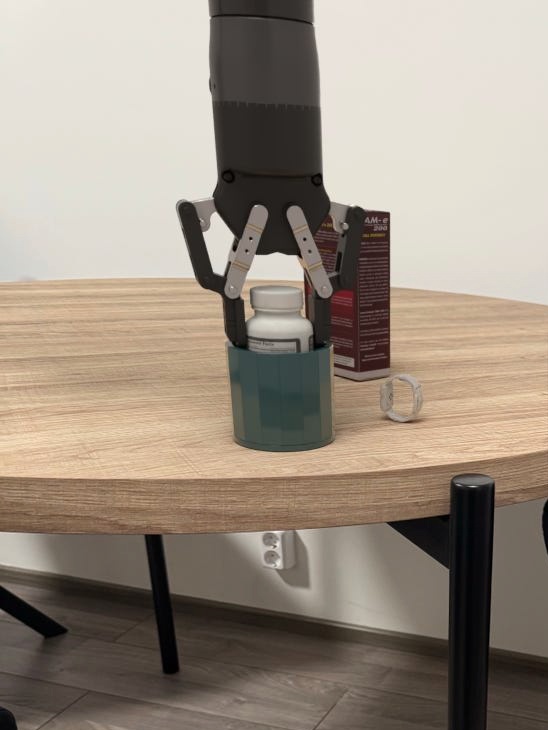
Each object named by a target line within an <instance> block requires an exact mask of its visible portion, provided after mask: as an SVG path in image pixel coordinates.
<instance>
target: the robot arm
mask: <svg viewBox="0 0 548 730" xmlns="http://www.w3.org/2000/svg"><path fill="white" fill-rule="evenodd" d="M207 2H208V3H207V4H208V15H209V18H210V19H209V42H208V67H209V78H208V88H209V92H210V95H211V107H212V119H213V121H212V122H213V134H214V147H215V158H216V159H215V160H216V172H217V173H216V174H217V179H216V180H217V181H216V185H215V187H214V190H213V193H212V196H210V197H205V198H199V199H195V200H188V199H180V200H177V202H176V204H175V211H176V215H177V218H178V221H179V226H180V229H181V232H182V236H183V239H184V243H185V246H186V247H185V248H186V250H187V254H188V257H189V260H190V263H191V267H192V271H193V274H194V277H195V280H196V282H197V283H198V284H199V286H200V288H202V289H204V290H208V291H211V292H214V293H217V294H219V295H220V297H221V301H222V315H223V327H224V333H225V336H226V338H227V340H229V341H230V342H234V344H235V347H238V348H241V349H247V338H246V323H245V322H246V310H245V300H244V298H243V297H242V296H241V294H242V292H243V291H242V290H243V287H244V284H245V282H246V279H247V276H248V272H249V271H250V269H251V267H252V264H253V262H254V258H255V256H269V255H272V254H277V253H278V254H281V255H285V256H296V259H297V261H298V263H299V265H300V267H301V268H302V270H303V274H304V273H305V275H306V277H307V280H308V282H309V284H310V287H311V294H312V295H308V302H309V321H310V322H311V324H312V326H313V332H314V348H324V340H330V337H331V334H332V328H331V298H332V296H333V295H334V294H335V293H337V292H339V291H342V290H344V289H347V290H348V289H351V288H353V286H354V284H355V279H356V274H357V268H358V262H359V256H360V250H361V244H362V238H363V232H364V226H365V220H366V212H365V210H364V209H365V208H363V207H361V206H359V205H357V204H352V203H351V204H349V203H348V204H345V203H342V202H341V203H340V202H336V201H334V200H333V201H332V200H331V199H330V198H331V197H330V196H329V194H328V192H327V190H326V187H325V184H324V162H323V161H324V160H323V159H324V158H323V128H322V125H323V124H322V94H321V93H322V92H321V66H320V65H321V63H320V56H319V49H318V43H317V37H316V36H317V35H316V27H315V23H316V21H315V0H207ZM214 213H216V214H217V215H218V216H219V218H220V219H221V220H222V222H223V223H224V224H225V225H226V227H227V228H228V229H229V231H230V232H231V233H232V235H233V239H232V243H231V245H230V249H229V251H228V255H227V260H226V261H227V262H226V265H225V267H224V271H223V274H220V273H217V272H214V268H213V265H212V262H211V258H210V255H209V250H208V247H207V245H206V244H207V243H206V240H205V237H204V234H203V233H205V232H207V231H209V229H210V228H211V217H212V215H213V214H214ZM328 214H329V215H330V216H331V217H332V219H333V227H334V229H335V231H336V232H338V233H340V234H339V240H338V246H337V252H336V259H335V265H334V271H333V272H332V273H330V274H326V271H325V269H324V266H323V262H322V259H321V256H320V254H319V252H318V249H317V247H316V244H315V242H314V239H313V238H314V236H315V235H316V233H317V232H318V230H319V229H320V227H321V225H322V224H323V222H324V221H325V219H326V218H327V216H328Z"/></svg>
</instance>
